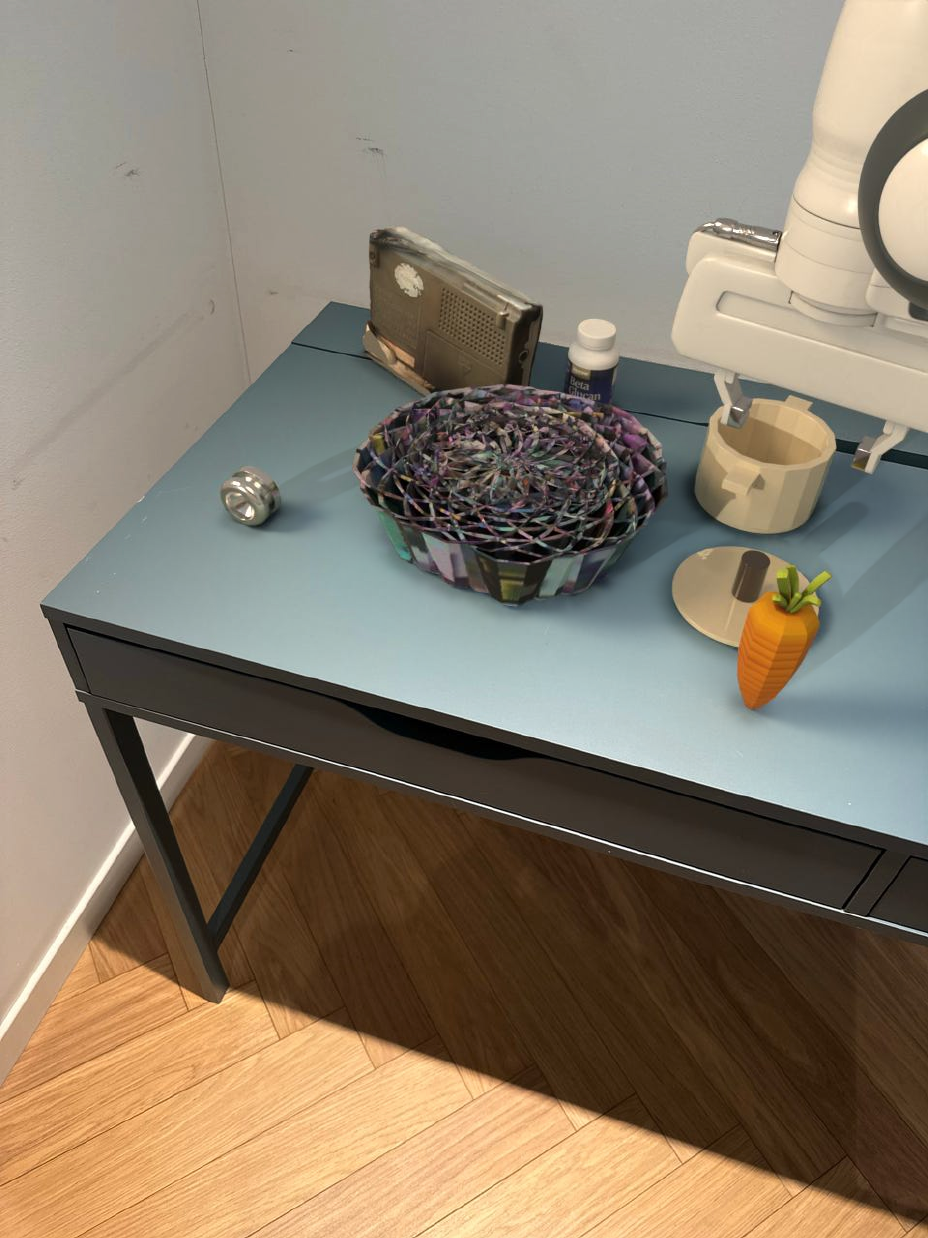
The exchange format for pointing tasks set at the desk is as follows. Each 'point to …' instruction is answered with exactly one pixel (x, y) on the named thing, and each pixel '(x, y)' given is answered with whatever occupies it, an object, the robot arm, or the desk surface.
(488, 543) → the decorative bowl
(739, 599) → the pot lid
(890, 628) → the desk surface
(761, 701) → the carrot
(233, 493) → the metal grooved wheel
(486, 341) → the radio
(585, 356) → the pill bottle
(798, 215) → the robot arm
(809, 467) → the pot
